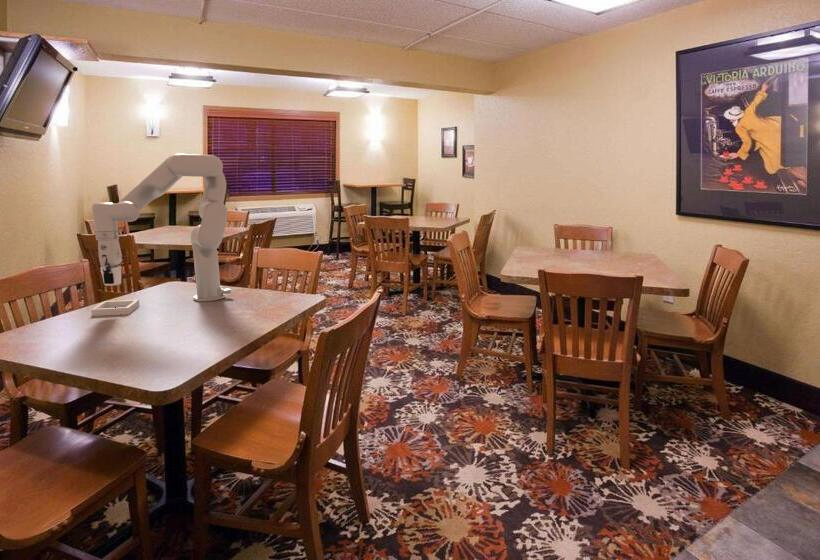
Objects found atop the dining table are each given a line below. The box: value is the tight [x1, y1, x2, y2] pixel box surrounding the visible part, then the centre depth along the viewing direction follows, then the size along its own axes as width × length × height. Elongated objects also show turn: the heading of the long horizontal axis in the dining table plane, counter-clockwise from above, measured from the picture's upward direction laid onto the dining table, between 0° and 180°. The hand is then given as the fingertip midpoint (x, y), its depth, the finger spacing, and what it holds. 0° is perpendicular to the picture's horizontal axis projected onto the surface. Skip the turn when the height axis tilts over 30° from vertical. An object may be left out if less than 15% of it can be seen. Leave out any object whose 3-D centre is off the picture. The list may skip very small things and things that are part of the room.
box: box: [90, 299, 140, 317], centre depth 193 cm, size 13×13×2 cm
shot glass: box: [100, 264, 122, 287], centre depth 190 cm, size 7×7×7 cm
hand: (112, 281), depth 190 cm, fingers closed on shot glass, 6 cm apart
